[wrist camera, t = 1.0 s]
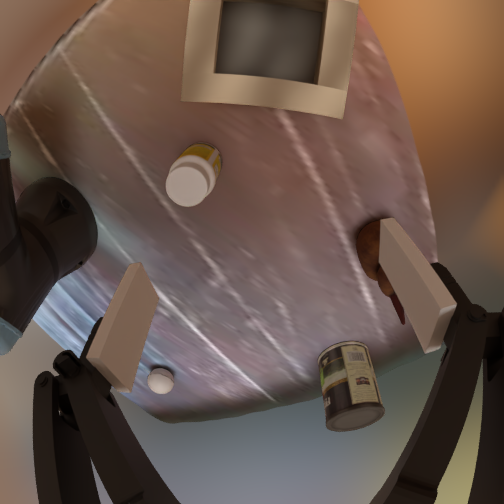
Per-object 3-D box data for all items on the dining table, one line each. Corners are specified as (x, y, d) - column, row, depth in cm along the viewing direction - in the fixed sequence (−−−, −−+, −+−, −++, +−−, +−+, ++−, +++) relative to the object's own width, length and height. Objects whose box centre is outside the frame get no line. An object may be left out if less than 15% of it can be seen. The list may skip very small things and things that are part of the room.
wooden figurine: (361, 260, 40) (394, 342, 27) (343, 230, 37) (379, 312, 25) (401, 237, 37) (449, 311, 25) (387, 205, 35) (441, 277, 22)
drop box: (206, 94, 28) (180, 101, 19) (216, -4, 22) (196, -38, 12) (316, 105, 29) (342, 119, 19) (329, 9, 22) (360, -19, 13)
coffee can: (320, 375, 56) (328, 436, 44) (314, 347, 51) (323, 416, 39) (368, 364, 54) (383, 423, 42) (368, 335, 49) (387, 401, 37)
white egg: (181, 376, 57) (176, 398, 53) (160, 378, 59) (155, 399, 54) (162, 355, 54) (155, 378, 49) (140, 358, 55) (133, 380, 50)
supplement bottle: (174, 157, 32) (151, 181, 25) (205, 133, 31) (189, 151, 24) (199, 187, 34) (183, 219, 27) (230, 165, 33) (222, 192, 26)
